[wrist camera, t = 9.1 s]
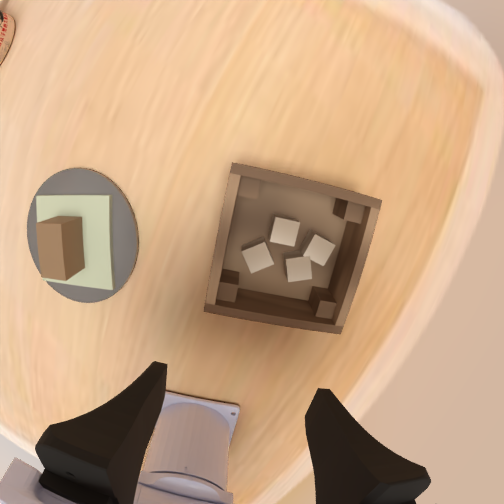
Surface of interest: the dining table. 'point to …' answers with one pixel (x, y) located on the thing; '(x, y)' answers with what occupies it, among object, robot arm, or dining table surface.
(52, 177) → the coaster
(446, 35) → the dining table surface
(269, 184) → the brown wooden open box
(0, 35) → the teacup with lid
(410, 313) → the dining table surface
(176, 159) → the dining table surface
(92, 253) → the lid
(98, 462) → the robot arm
